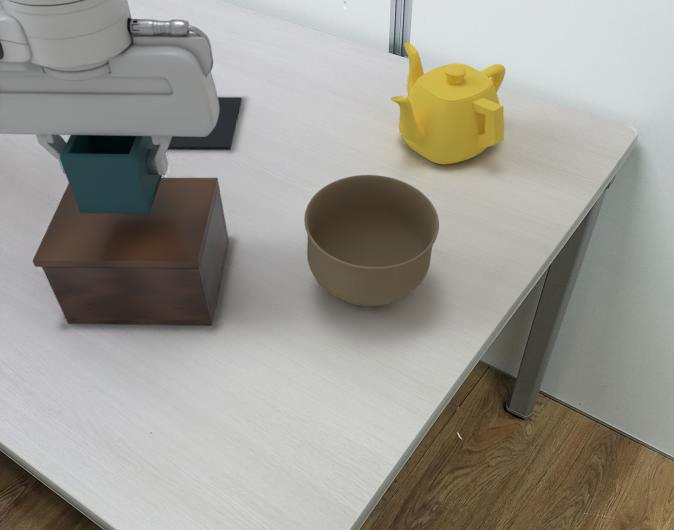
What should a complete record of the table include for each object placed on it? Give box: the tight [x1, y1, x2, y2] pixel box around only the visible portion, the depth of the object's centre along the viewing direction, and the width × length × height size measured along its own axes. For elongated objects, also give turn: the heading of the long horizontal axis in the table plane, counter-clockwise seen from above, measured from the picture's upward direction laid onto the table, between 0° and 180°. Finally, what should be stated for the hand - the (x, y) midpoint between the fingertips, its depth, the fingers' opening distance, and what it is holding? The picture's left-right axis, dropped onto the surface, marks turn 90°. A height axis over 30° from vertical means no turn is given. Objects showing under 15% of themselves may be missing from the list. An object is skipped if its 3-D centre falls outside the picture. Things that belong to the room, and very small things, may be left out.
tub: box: [60, 135, 163, 214], centre depth 63 cm, size 6×6×6 cm
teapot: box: [390, 42, 506, 165], centre depth 86 cm, size 14×13×10 cm
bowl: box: [303, 174, 440, 307], centre depth 69 cm, size 13×13×10 cm
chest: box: [41, 184, 230, 326], centre depth 71 cm, size 15×13×8 cm
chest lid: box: [32, 177, 220, 268], centre depth 68 cm, size 15×13×1 cm
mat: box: [157, 96, 243, 151], centre depth 94 cm, size 14×12×1 cm
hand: (116, 170), depth 64 cm, fingers closed on tub, 6 cm apart
